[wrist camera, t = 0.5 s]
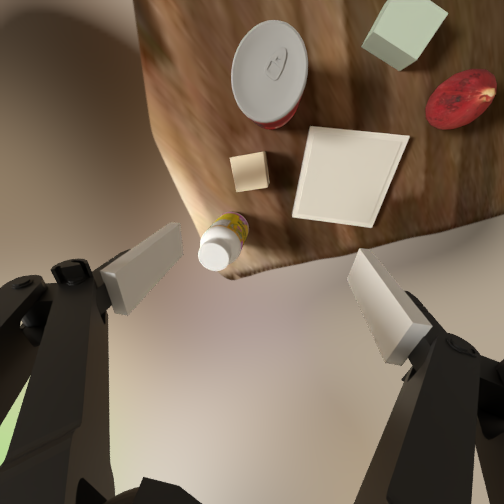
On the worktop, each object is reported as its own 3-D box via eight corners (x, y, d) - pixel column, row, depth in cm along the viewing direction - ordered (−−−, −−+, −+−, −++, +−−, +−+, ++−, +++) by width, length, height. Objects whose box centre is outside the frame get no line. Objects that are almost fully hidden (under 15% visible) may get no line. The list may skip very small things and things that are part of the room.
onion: (405, 130, 29) (445, 126, 22) (423, 79, 26) (474, 55, 19) (450, 131, 28) (504, 126, 21) (472, 79, 25) (543, 54, 18)
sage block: (384, 5, 24) (401, -20, 20) (424, 32, 24) (448, 13, 21) (360, 47, 26) (373, 31, 22) (399, 71, 26) (416, 60, 23)
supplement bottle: (251, 241, 41) (238, 277, 29) (220, 242, 42) (197, 277, 31) (247, 209, 38) (232, 235, 26) (214, 211, 39) (186, 237, 28)
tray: (309, 126, 30) (310, 125, 29) (405, 136, 29) (410, 135, 28) (291, 214, 37) (292, 217, 36) (369, 225, 36) (372, 228, 35)
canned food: (309, 74, 27) (323, 34, 18) (287, 137, 31) (288, 133, 22) (257, 54, 27) (243, 3, 18) (241, 120, 31) (222, 109, 22)
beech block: (236, 156, 34) (229, 157, 29) (265, 151, 33) (263, 151, 28) (242, 186, 36) (236, 192, 32) (269, 182, 35) (267, 187, 31)
